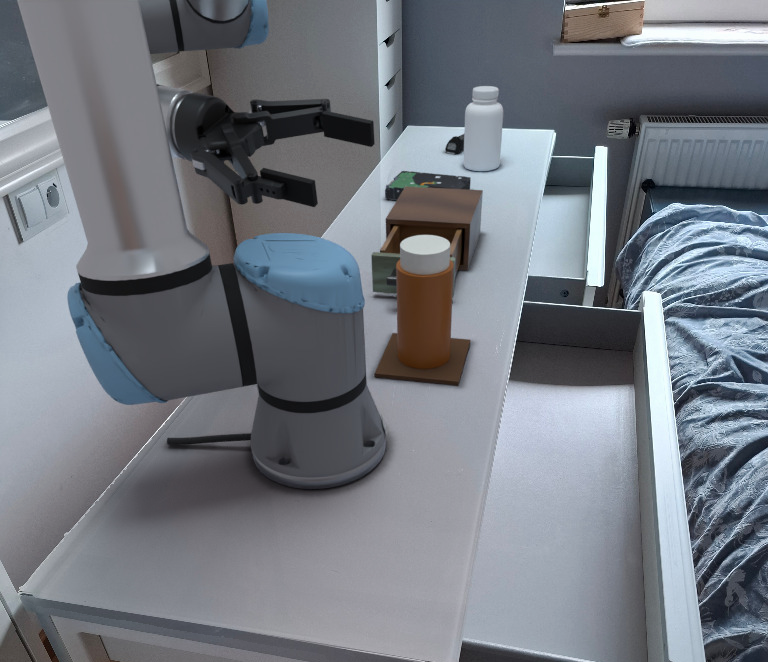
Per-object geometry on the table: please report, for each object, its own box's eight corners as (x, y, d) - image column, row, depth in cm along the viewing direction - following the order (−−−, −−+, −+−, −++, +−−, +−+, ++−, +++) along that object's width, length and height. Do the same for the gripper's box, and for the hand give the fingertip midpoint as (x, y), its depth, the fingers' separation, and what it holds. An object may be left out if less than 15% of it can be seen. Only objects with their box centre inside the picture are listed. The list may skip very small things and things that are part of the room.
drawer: (448, 311, 104) (449, 272, 100) (366, 304, 106) (364, 266, 103) (466, 259, 118) (468, 223, 114) (393, 254, 120) (392, 219, 116)
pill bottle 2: (487, 158, 160) (492, 82, 150) (506, 168, 155) (512, 90, 145) (456, 164, 158) (459, 87, 148) (474, 174, 152) (478, 94, 142)
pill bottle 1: (407, 373, 92) (406, 259, 82) (391, 347, 97) (388, 237, 87) (457, 363, 94) (463, 251, 84) (439, 339, 99) (442, 229, 89)
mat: (458, 385, 91) (458, 381, 90) (374, 377, 93) (374, 373, 93) (470, 343, 99) (470, 339, 98) (392, 336, 101) (392, 332, 100)
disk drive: (470, 191, 145) (401, 183, 149) (471, 176, 143) (401, 169, 147) (456, 208, 138) (384, 200, 142) (456, 193, 136) (384, 185, 140)
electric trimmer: (492, 139, 172) (493, 124, 170) (457, 155, 163) (458, 139, 161) (479, 137, 174) (480, 122, 172) (443, 152, 165) (444, 137, 163)
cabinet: (467, 270, 116) (470, 223, 111) (386, 265, 119) (385, 218, 114) (480, 234, 128) (482, 190, 123) (405, 230, 130) (405, 186, 125)
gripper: (253, 112, 96) (394, 142, 90) (137, 210, 83) (292, 253, 77) (241, 50, 90) (393, 78, 83) (114, 146, 77) (281, 187, 71)
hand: (345, 162), depth 80 cm, fingers open, 13 cm apart
